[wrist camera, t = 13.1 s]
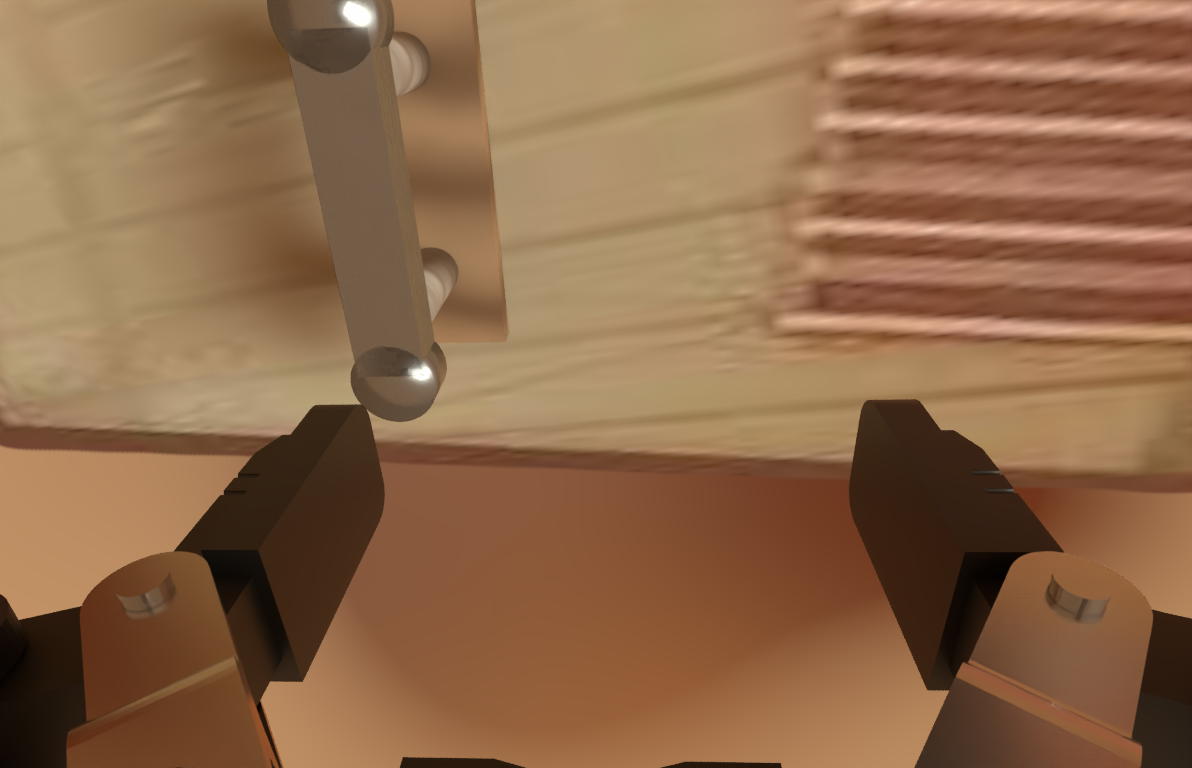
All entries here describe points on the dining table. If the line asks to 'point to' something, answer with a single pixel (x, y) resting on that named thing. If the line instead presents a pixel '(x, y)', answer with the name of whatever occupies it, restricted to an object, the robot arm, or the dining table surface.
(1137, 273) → the dining table surface
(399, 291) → the grey knobbed bar
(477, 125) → the peg stand
